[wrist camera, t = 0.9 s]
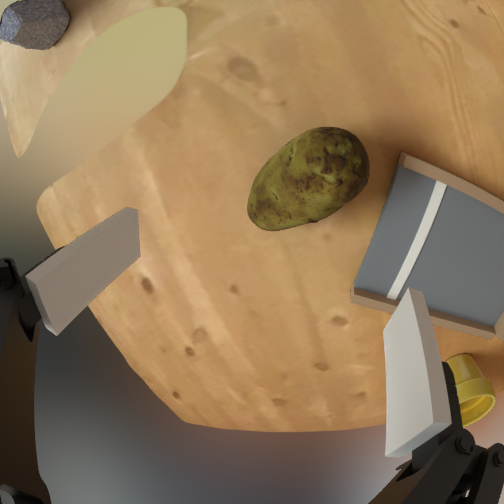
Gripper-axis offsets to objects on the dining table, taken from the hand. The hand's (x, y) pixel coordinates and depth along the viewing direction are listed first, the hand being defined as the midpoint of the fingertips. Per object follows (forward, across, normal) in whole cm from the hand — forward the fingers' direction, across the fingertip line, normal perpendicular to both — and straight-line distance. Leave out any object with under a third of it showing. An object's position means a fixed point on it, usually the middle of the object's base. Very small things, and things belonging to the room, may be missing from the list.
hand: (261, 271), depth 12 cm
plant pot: (+18, +33, -21) cm, 43 cm away
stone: (+19, -43, +20) cm, 51 cm away
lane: (+18, +21, -4) cm, 28 cm away
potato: (+19, 0, 0) cm, 19 cm away
